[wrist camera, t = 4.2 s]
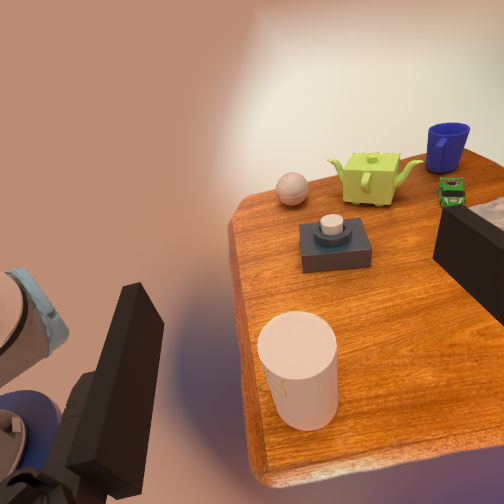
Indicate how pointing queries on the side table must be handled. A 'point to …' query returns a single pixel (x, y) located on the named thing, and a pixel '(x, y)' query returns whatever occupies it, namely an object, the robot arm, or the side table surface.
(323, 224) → the button
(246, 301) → the side table surface
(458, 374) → the side table surface
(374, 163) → the teapot
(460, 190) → the toy car
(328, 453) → the side table surface
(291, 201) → the bath bomb
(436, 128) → the mug
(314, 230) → the push button box
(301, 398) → the doodled pink cylinder
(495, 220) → the decorative stone
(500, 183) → the side table surface
